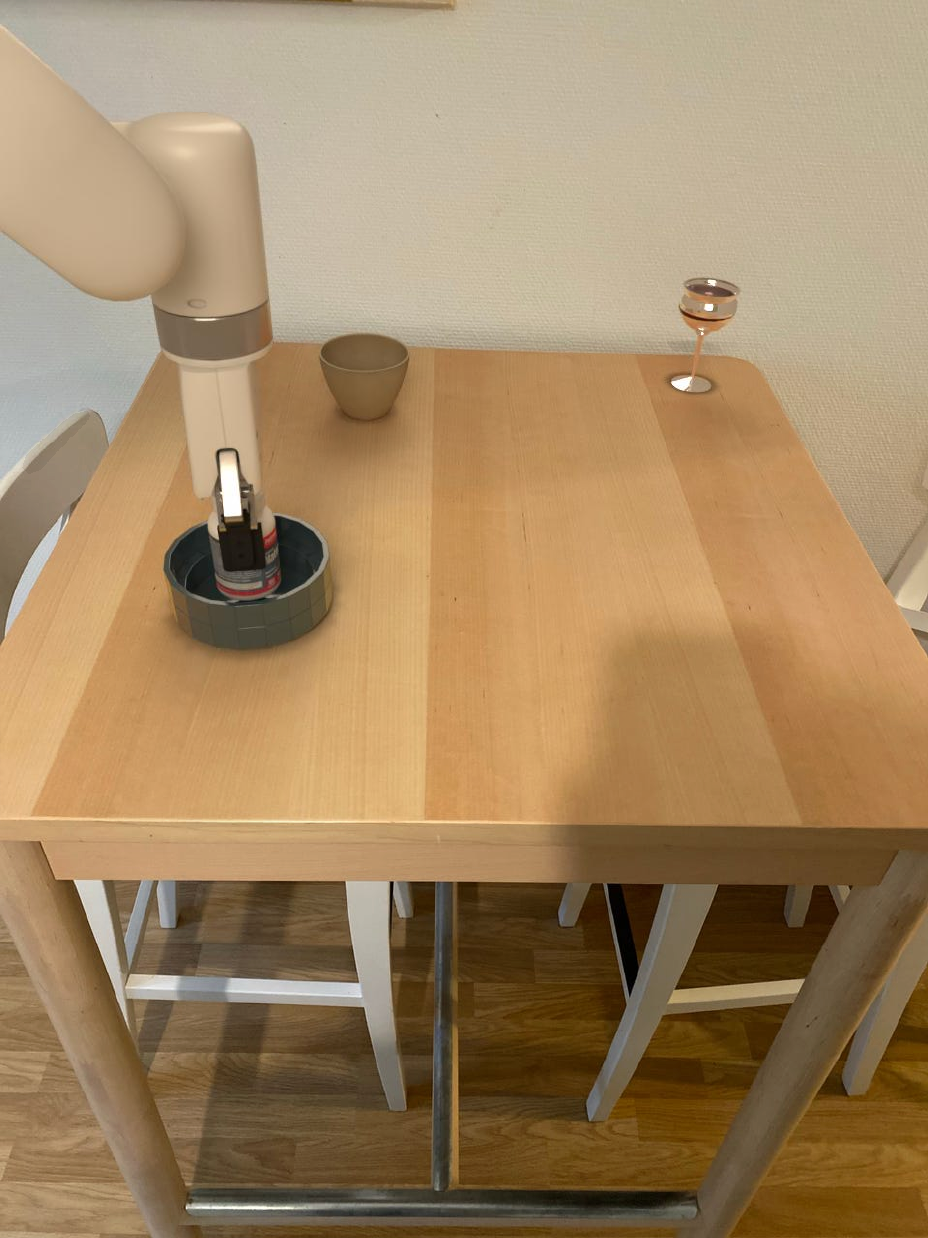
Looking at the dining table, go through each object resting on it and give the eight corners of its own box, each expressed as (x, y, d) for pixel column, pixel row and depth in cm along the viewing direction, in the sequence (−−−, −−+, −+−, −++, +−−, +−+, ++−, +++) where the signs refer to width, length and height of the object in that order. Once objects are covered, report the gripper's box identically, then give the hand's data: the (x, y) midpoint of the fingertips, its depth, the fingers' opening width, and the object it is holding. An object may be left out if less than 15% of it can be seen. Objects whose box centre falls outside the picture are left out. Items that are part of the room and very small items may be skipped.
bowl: (169, 662, 70) (158, 612, 67) (178, 564, 80) (168, 516, 77) (337, 647, 72) (334, 598, 69) (326, 553, 82) (323, 506, 79)
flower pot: (303, 411, 103) (299, 351, 98) (362, 383, 109) (360, 325, 105) (369, 440, 99) (368, 378, 94) (427, 408, 105) (428, 349, 100)
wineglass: (726, 394, 111) (750, 297, 103) (673, 396, 110) (693, 298, 102) (707, 371, 116) (728, 276, 108) (656, 372, 115) (674, 277, 108)
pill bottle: (279, 602, 73) (268, 508, 67) (213, 603, 72) (196, 509, 67) (284, 563, 77) (274, 472, 71) (221, 564, 76) (207, 472, 71)
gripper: (164, 280, 67) (200, 492, 78) (146, 382, 54) (192, 617, 65) (268, 278, 68) (288, 487, 79) (275, 376, 55) (297, 608, 67)
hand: (244, 544), depth 72 cm, fingers closed on pill bottle, 5 cm apart
